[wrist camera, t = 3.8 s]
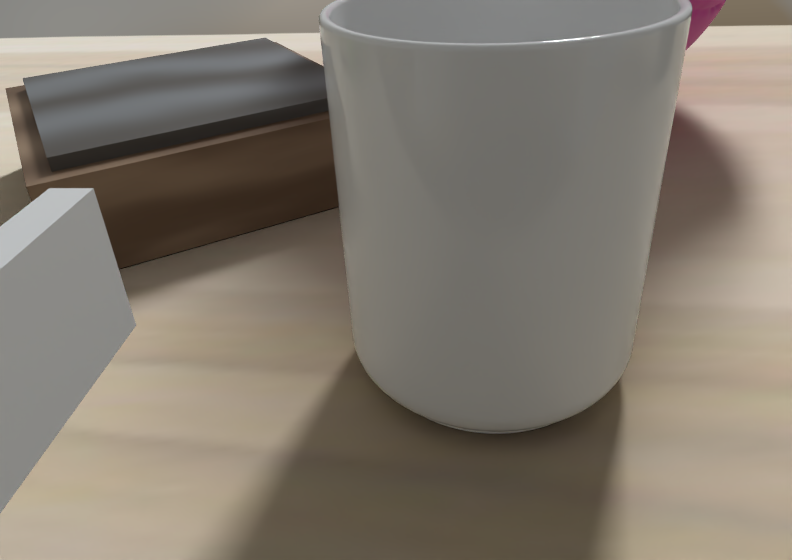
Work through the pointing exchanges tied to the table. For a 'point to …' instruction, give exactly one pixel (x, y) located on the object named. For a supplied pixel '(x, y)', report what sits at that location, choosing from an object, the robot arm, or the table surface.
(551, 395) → the mug
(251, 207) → the walnut plinth
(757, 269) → the table surface
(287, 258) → the table surface
